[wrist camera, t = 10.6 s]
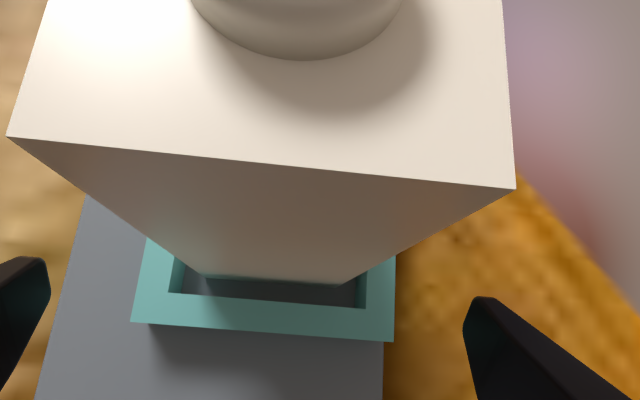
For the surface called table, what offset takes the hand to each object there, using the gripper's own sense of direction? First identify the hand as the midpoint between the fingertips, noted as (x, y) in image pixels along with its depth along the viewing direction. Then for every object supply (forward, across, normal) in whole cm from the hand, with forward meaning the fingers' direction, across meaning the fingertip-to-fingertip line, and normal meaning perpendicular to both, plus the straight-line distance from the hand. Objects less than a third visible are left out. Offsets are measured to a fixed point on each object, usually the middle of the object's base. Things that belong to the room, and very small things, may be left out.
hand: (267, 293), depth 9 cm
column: (+8, 0, +3) cm, 8 cm away
